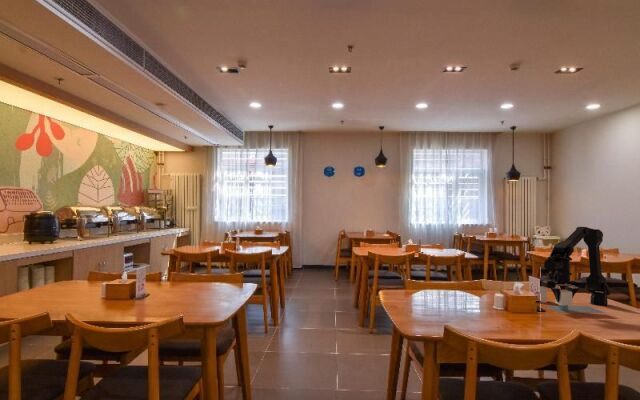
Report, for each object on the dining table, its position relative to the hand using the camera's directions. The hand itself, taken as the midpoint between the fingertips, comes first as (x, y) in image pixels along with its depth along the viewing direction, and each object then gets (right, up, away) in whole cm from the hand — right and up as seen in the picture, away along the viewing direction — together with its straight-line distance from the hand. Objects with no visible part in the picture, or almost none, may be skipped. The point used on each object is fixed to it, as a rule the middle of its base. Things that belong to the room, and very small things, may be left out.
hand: (563, 302), depth 197 cm
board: (+6, -5, +2) cm, 8 cm away
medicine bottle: (-2, -5, +21) cm, 22 cm away
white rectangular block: (0, -1, 0) cm, 1 cm away
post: (0, -4, 0) cm, 4 cm away
